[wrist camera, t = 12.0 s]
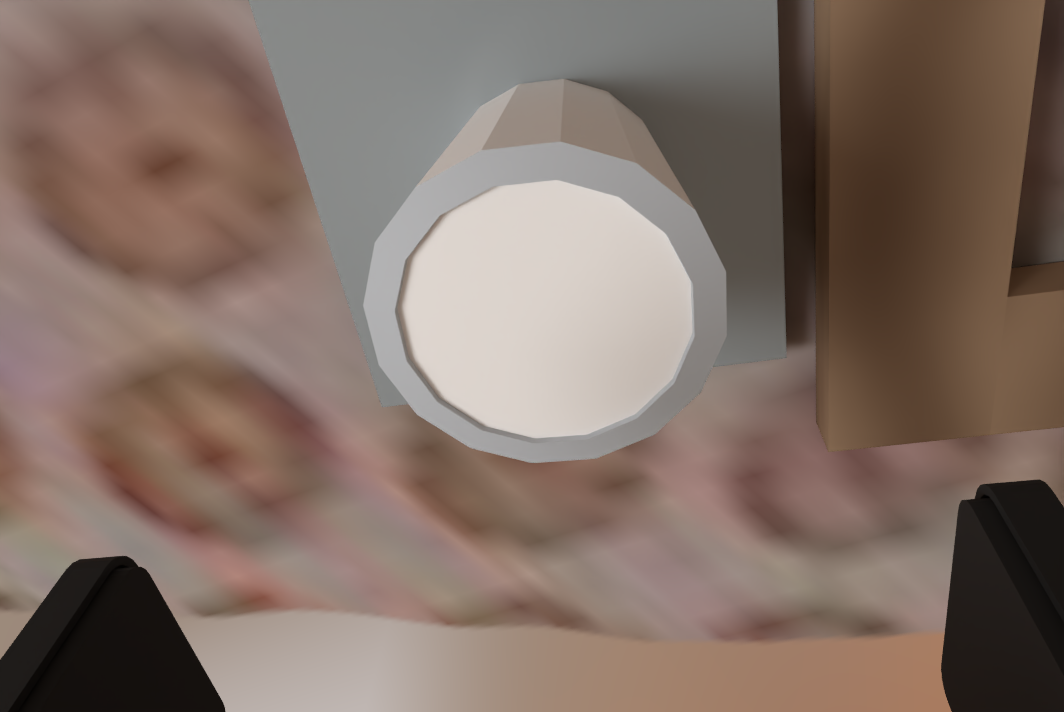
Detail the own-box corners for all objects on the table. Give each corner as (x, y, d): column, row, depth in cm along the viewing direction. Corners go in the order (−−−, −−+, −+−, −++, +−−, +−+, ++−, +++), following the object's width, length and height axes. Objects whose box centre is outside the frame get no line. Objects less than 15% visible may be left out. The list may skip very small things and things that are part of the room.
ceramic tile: (767, -120, 19) (774, -119, 18) (780, 343, 25) (786, 357, 24) (255, -20, 20) (243, -15, 19) (387, 392, 26) (382, 407, 26)
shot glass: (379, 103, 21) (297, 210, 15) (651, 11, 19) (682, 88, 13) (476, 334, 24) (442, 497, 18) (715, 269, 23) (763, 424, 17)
